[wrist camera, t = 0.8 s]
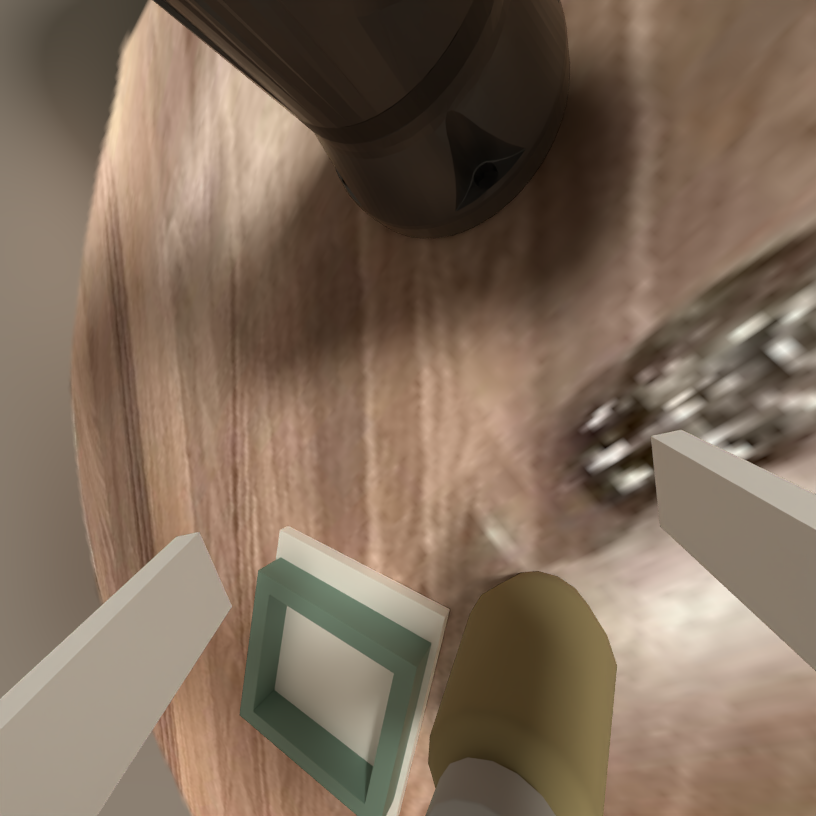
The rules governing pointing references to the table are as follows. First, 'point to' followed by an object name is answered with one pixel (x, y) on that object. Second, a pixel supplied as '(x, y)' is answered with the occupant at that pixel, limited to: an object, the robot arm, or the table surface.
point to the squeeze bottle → (526, 707)
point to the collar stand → (341, 670)
